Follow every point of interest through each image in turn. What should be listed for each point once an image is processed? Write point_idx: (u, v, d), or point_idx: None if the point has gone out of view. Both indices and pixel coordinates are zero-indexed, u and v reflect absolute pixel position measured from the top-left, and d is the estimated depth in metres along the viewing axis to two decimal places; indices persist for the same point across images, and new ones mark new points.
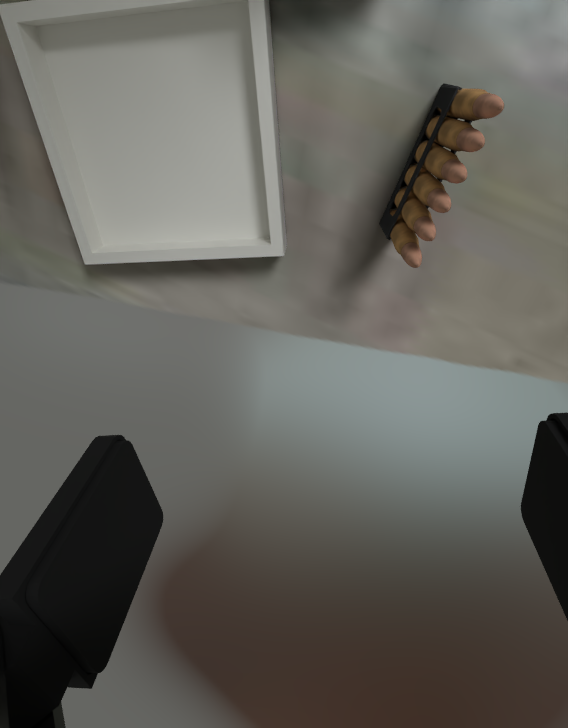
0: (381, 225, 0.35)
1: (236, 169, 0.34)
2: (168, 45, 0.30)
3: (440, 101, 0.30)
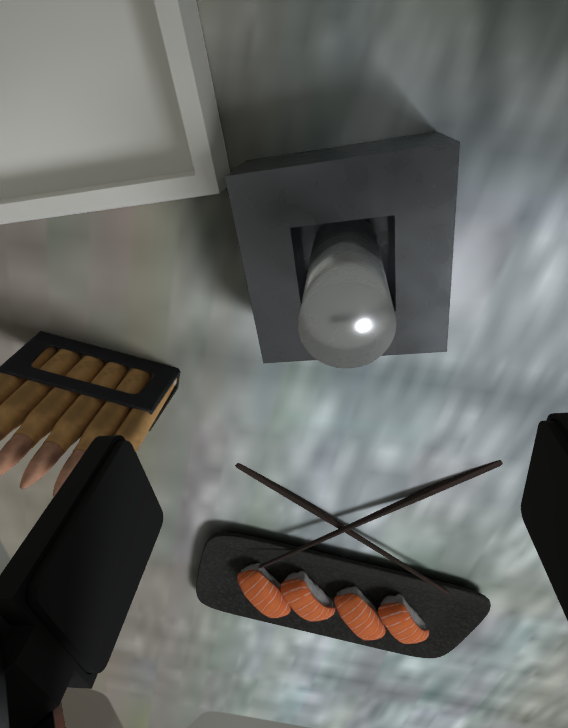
0: (32, 339, 0.30)
1: (17, 144, 0.23)
2: (135, 26, 0.20)
3: (155, 381, 0.30)
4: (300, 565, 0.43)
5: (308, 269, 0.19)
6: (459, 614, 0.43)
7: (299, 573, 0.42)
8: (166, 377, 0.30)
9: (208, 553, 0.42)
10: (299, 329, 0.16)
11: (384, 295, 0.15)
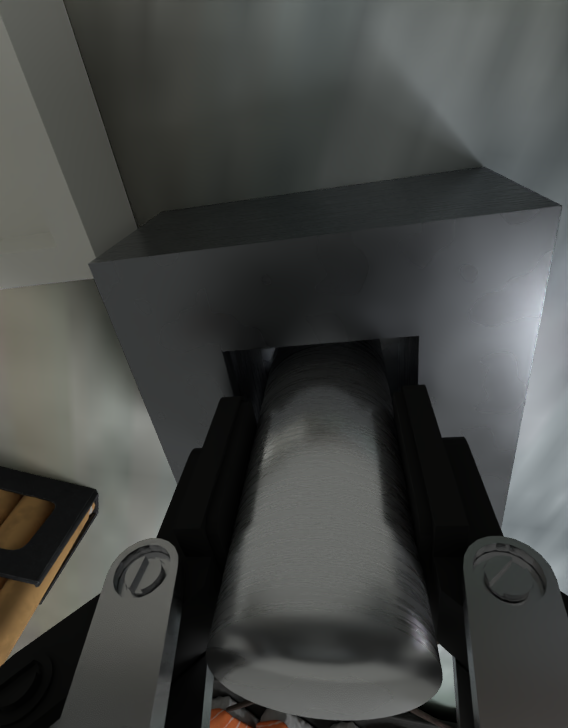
0: None
1: None
2: None
3: (54, 519, 0.20)
4: None
5: None
6: None
7: None
8: (74, 509, 0.21)
9: None
10: (210, 665, 0.07)
11: (415, 632, 0.06)
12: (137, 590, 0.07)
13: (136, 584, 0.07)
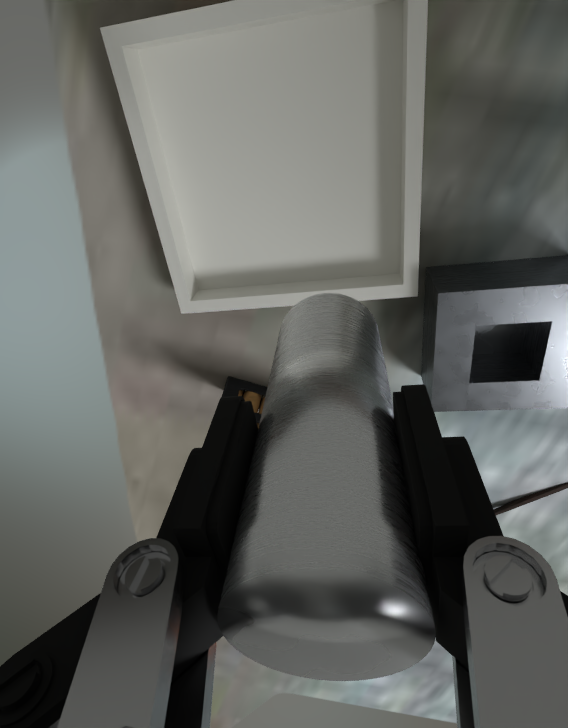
0: (227, 384, 0.39)
1: (260, 252, 0.32)
2: (372, 185, 0.29)
3: None
4: None
5: None
6: None
7: None
8: None
9: None
10: (222, 627, 0.07)
11: (410, 590, 0.06)
12: (137, 590, 0.07)
13: (136, 584, 0.07)
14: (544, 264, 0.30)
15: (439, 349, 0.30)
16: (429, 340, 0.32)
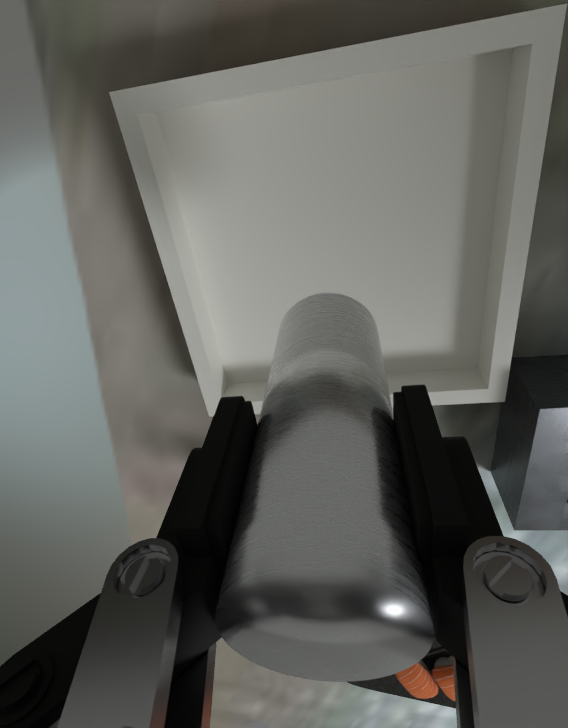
0: None
1: None
2: (451, 271, 0.23)
3: None
4: None
5: (258, 422, 0.11)
6: None
7: (450, 659, 0.45)
8: None
9: None
10: (219, 627, 0.07)
11: (409, 590, 0.06)
12: (137, 590, 0.07)
13: (136, 584, 0.07)
14: None
15: (533, 467, 0.24)
16: (513, 447, 0.26)
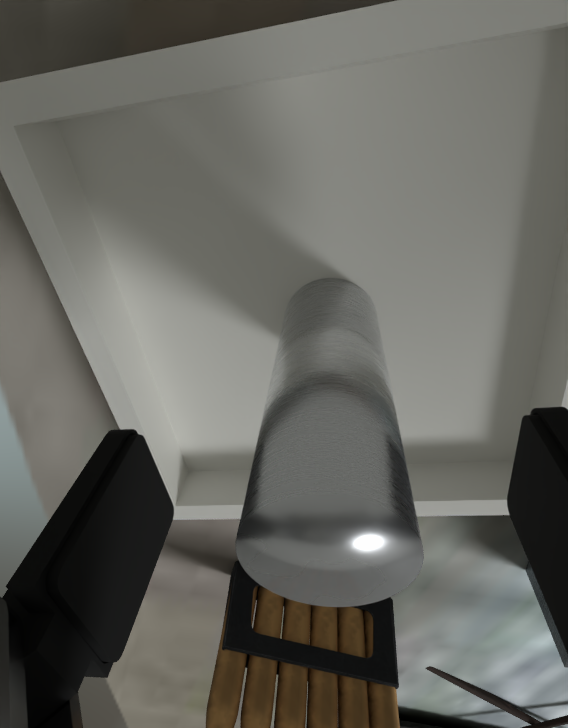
0: (235, 579, 0.26)
1: None
2: (489, 342, 0.16)
3: (379, 628, 0.26)
4: None
5: (268, 390, 0.12)
6: None
7: None
8: (386, 617, 0.27)
9: None
10: (239, 554, 0.08)
11: (401, 514, 0.07)
12: None
13: None
14: None
15: None
16: None
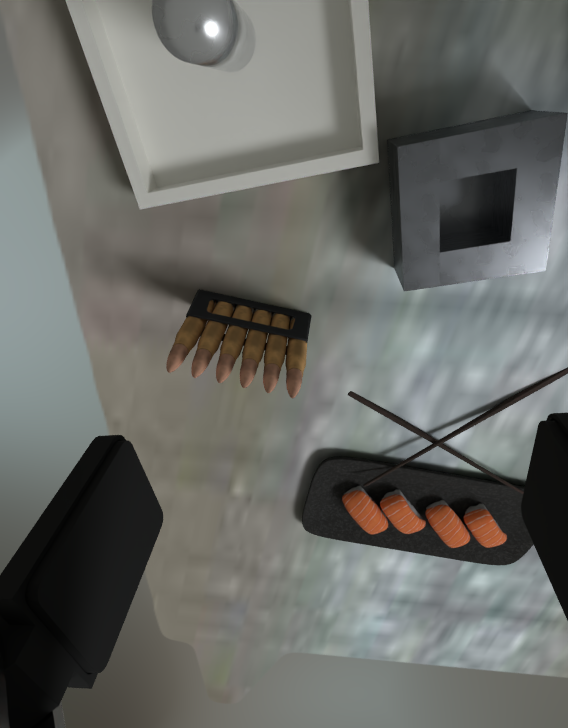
0: (197, 295, 0.38)
1: (215, 136, 0.31)
2: (322, 45, 0.28)
3: (298, 321, 0.38)
4: (395, 484, 0.50)
5: None
6: None
7: (395, 491, 0.50)
8: (304, 319, 0.38)
9: (318, 479, 0.49)
10: (154, 23, 0.20)
11: None
12: None
13: None
14: (505, 118, 0.29)
15: (405, 214, 0.29)
16: (396, 214, 0.31)
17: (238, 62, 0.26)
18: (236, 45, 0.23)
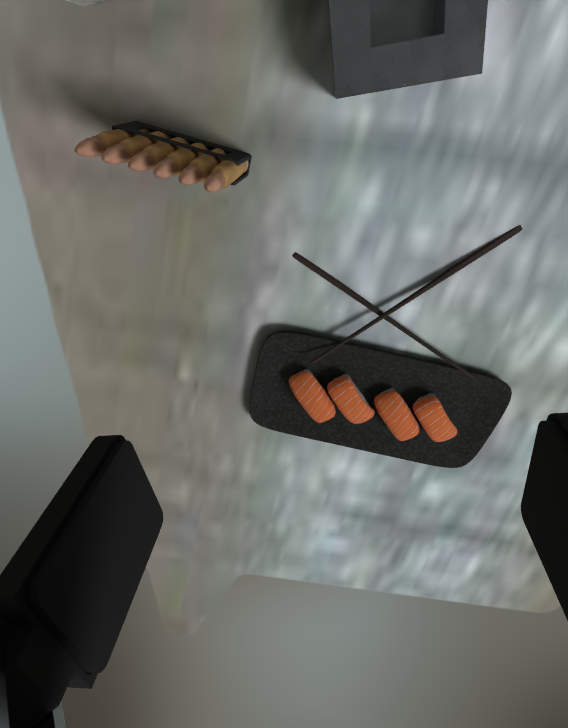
0: (131, 122, 0.36)
1: None
2: None
3: (234, 153, 0.36)
4: (344, 368, 0.49)
5: None
6: (483, 411, 0.50)
7: (343, 375, 0.48)
8: (242, 154, 0.37)
9: (263, 357, 0.48)
10: None
11: None
12: None
13: None
14: None
15: None
16: (329, 11, 0.30)
17: None
18: None
